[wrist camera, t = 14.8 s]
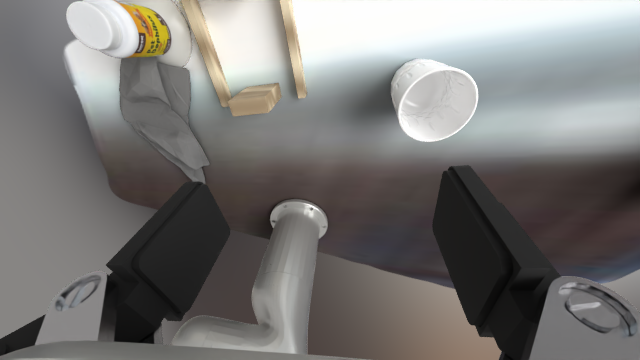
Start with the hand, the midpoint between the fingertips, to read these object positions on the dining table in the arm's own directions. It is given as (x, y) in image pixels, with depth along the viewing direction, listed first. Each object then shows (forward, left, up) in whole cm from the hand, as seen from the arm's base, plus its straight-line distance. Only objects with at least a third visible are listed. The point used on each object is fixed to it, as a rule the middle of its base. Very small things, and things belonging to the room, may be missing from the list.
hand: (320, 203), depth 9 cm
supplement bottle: (-10, +24, -28) cm, 38 cm away
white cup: (+4, -10, -28) cm, 30 cm away
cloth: (-23, +21, -28) cm, 42 cm away
